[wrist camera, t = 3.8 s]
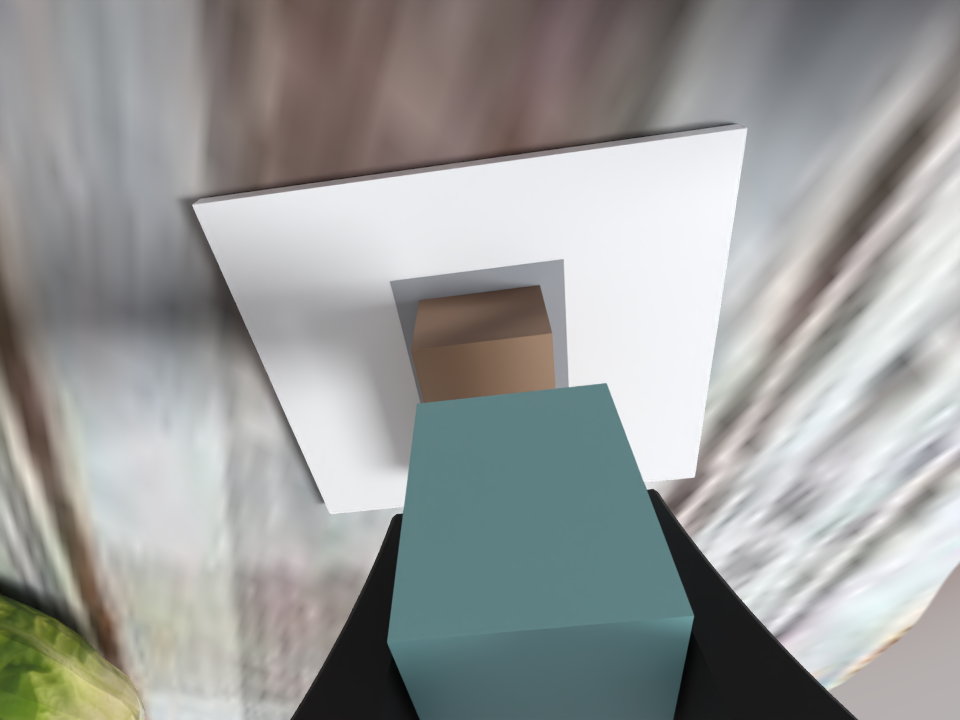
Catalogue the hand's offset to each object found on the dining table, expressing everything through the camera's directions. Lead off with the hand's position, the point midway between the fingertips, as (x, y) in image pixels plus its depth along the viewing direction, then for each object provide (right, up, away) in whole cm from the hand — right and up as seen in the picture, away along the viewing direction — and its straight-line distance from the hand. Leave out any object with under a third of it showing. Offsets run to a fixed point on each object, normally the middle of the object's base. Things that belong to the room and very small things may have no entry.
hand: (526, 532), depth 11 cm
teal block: (0, +1, +1) cm, 2 cm away
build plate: (-1, +4, +8) cm, 9 cm away
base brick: (0, +3, +8) cm, 9 cm away
